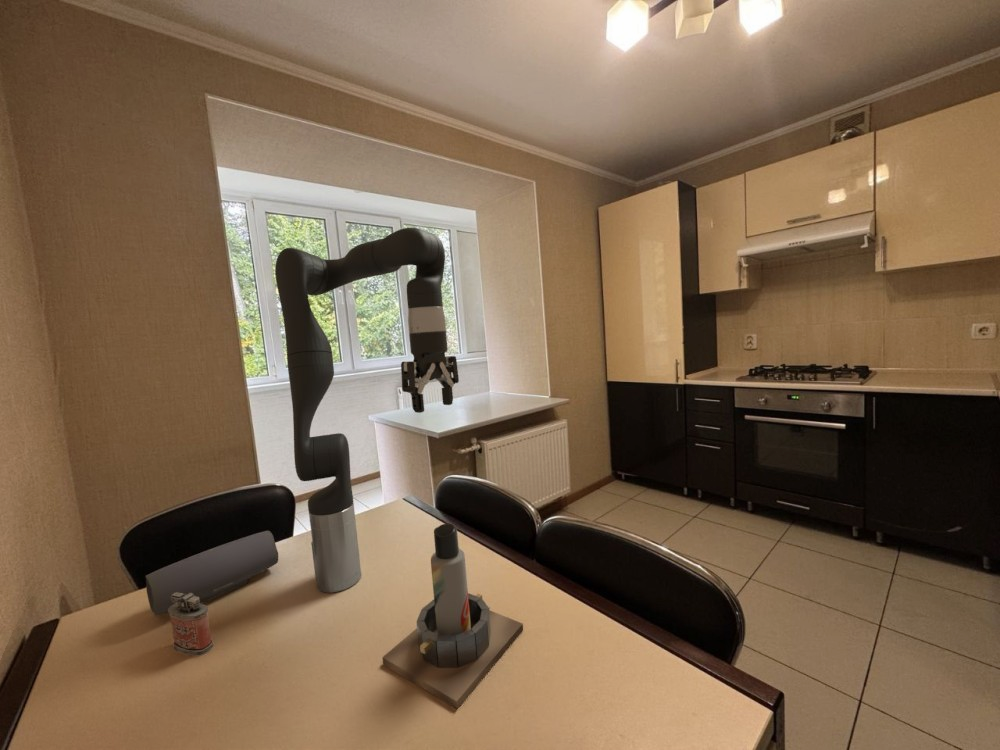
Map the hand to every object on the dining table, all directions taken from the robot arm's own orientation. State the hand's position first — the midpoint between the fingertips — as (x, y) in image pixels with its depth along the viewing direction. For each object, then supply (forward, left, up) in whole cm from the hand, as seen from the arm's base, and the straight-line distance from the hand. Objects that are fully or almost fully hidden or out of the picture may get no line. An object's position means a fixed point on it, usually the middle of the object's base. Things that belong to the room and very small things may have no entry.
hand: (434, 408), depth 86 cm
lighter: (-28, -38, -38) cm, 61 cm away
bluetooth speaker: (-43, -28, -38) cm, 64 cm away
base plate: (+14, -14, -38) cm, 43 cm away
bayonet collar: (+14, -14, -37) cm, 42 cm away
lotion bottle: (+14, -14, -37) cm, 42 cm away
